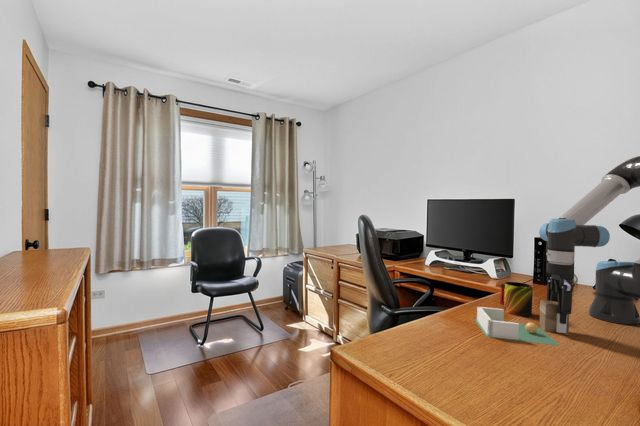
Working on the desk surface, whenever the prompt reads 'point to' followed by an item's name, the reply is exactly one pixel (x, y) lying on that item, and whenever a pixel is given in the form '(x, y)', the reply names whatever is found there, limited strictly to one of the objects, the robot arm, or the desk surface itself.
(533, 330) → the ball
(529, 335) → the mat
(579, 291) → the desk surface
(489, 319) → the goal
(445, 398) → the desk surface
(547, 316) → the player block
